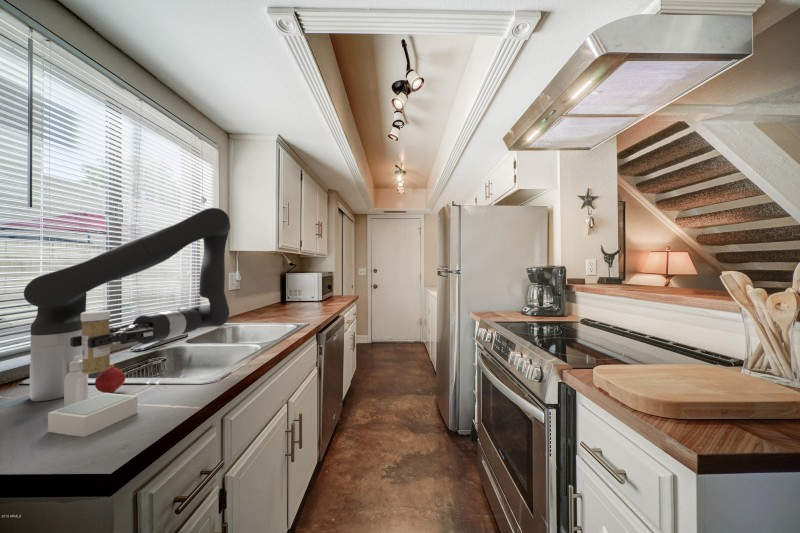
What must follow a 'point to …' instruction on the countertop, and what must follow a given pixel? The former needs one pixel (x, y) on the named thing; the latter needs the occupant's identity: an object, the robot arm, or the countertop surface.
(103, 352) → the sprinkles bottle
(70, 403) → the eye dropper bottle
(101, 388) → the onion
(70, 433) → the block
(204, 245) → the robot arm
